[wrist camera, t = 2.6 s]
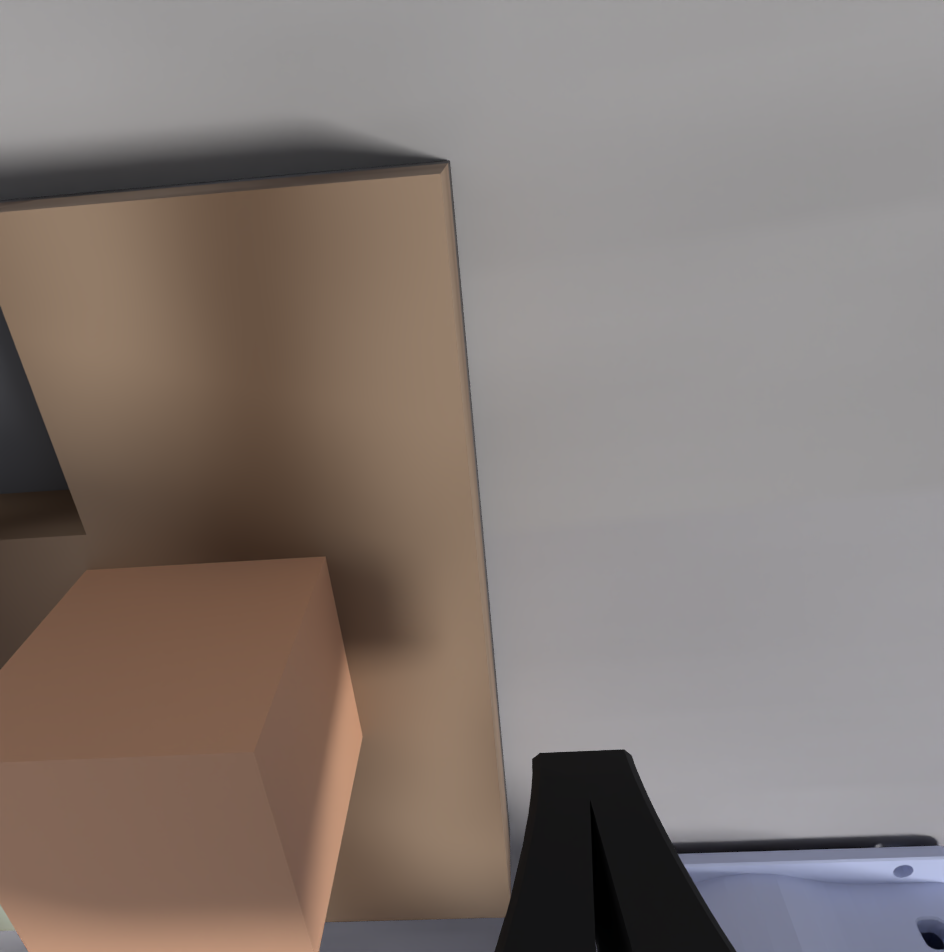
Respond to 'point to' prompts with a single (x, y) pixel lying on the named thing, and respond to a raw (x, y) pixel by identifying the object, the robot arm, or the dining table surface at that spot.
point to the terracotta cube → (178, 761)
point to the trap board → (276, 465)
